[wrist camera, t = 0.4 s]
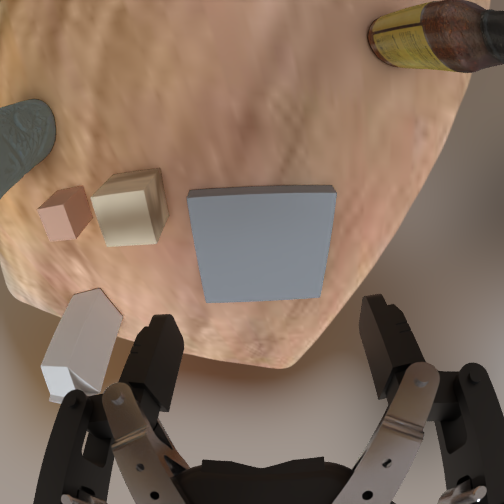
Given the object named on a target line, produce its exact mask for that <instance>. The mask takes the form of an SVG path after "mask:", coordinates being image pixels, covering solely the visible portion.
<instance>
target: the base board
mask: <svg viewBox="0 0 504 504" xmlns="http://www.w3.org/2000/svg"><path fill="white" fill-rule="evenodd" d="M336 196H337V192H336V191H335V189H334V188H333V186H332V185H292V186H254V187H232V188H215V189H200V190H190V191H189V194H188V196H187V203H188V209H189V215H190V221H191V227H192V233H193V239H194V244H195V250H196V255H197V260H198V265H199V271H200V276H201V281H202V286H203V290H204V295H205V300H206V303H224V302H251V301H272V300H290V299H305V298H319V297H320V295H321V290H322V285H323V280H324V274H325V269H326V263H327V257H328V251H329V245H330V239H331V233H332V226H333V219H334V212H335V204H336Z"/></svg>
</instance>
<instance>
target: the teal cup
mask: <svg viewBox="0 0 504 504" xmlns="http://www.w3.org/2000/svg"><path fill="white" fill-rule="evenodd" d="M55 135H56V126H55V120H54V116H53V113H52V111H51V109H50V108H49V106H48V105H47V104H46V103H44V102H43V101H41V100H37V99H30V100H26V101H22V102H18V103H15V104H12V105H8V106H6V107H2V108H0V199H1V198H2V196H3V195H4V194H5V193H6V192H7V191H8V190H9V189H10V188H11V187H12V186H13V185H14V184H16V183H17V182H18V181H19V180H20V179H21V178H22V177H23V176H24V174H26V173H28V172H29V171H30V170H31V169H32V168H33V167H34V166H35V165H37V164H38V163H39V162H41V161H42V160H43V159H44V158H45V157H46V156H47V155H48V154H49V153H50V152H51V149H52V147H53V145H54V141H55Z"/></svg>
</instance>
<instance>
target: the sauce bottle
mask: <svg viewBox="0 0 504 504" xmlns="http://www.w3.org/2000/svg"><path fill="white" fill-rule="evenodd" d="M368 39H369V43H370V45H371V48H372V49H373V51H374V53H375V54H376V55H377V57H378V58H379V59H381V60H382V61H384V62H385V63H387V64H389V65H392V66H395V67H401V68H414V69H433V70H444V71H453V72H461V73H472V72H476V71H479V70H481V69H484V68H488V67H492V66H497V65H502V64H504V11H494V10H486V9H484V8H482V7H481V6H479V5H477V4H475V3H473V2H469V1H465V0H443V1H433V2H428V3H424V4H420V5H416V6H413V7H409V8H405V9H402V10H399V11H396V12H393V13H390V14H387V15H384V16H382V17H380V18H379V19H377V20H375V21H374V22H373V24H372V25H371V27H370V30H369V34H368Z"/></svg>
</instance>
